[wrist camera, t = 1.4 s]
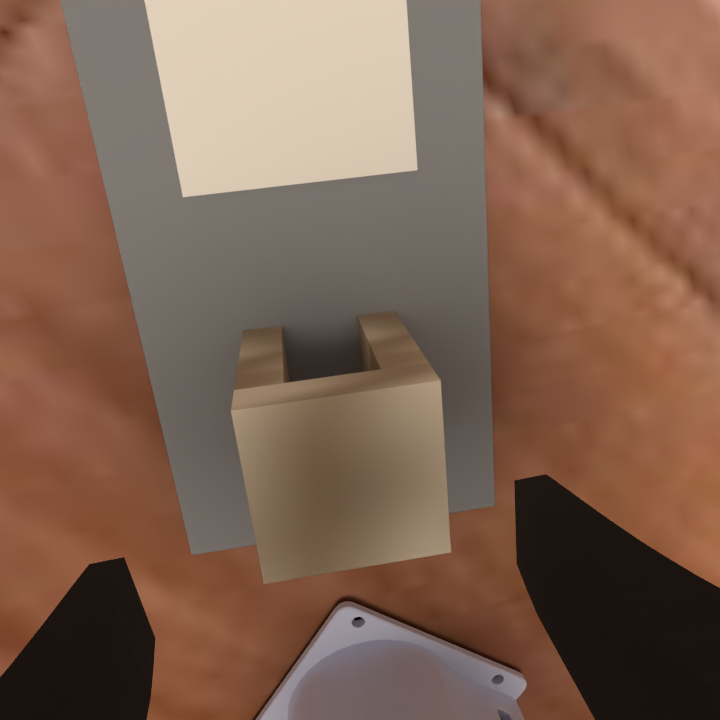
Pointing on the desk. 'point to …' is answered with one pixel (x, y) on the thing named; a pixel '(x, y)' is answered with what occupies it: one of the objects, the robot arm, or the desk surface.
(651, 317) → the desk surface
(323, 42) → the board
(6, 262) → the desk surface
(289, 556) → the tan u-shaped block
